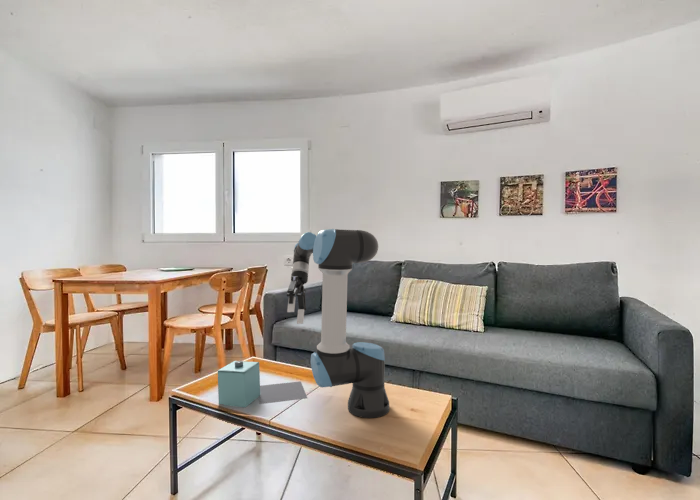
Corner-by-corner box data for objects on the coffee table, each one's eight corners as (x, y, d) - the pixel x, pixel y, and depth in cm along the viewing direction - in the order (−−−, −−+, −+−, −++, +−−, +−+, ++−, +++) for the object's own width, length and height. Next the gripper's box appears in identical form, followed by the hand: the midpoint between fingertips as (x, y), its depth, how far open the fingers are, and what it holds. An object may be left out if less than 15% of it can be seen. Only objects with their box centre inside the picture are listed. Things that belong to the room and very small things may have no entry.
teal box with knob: (260, 395, 134) (259, 358, 134) (245, 407, 124) (244, 367, 124) (235, 393, 137) (234, 357, 137) (218, 405, 126) (217, 366, 126)
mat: (307, 399, 132) (307, 398, 132) (259, 405, 126) (259, 403, 126) (300, 382, 149) (300, 381, 149) (258, 387, 144) (258, 385, 144)
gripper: (299, 286, 166) (295, 328, 155) (283, 260, 146) (277, 306, 134) (314, 285, 165) (311, 327, 154) (300, 259, 145) (295, 305, 133)
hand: (295, 318), depth 144 cm, fingers open, 13 cm apart
